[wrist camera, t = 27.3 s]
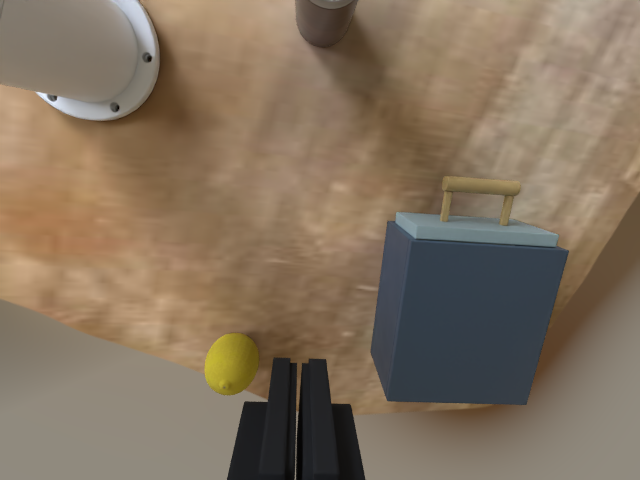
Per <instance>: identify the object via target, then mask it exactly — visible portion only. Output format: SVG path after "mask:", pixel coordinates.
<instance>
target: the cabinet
mask: <svg viewBox="0 0 640 480" xmlns="http://www.w3.org/2000/svg"><path fill="white" fill-rule="evenodd" d="M568 253H569V251H568V250H566V249H563V248H561V247H558V246H556V247H542V246H525V245H515V246H512V245H495V244H479V243H462V242H446V241H430V240H416V239H415V238H414V237H413V236H411V235H410V234H409V233H408V232H406V231H405V230H404V229H403V228H401V227H400V226H399V225H398V224H396V223H395V221H388V222H387V229H386V237H385V245H384V253H383V260H382V268H381V276H380V283H379V291H378V299H377V306H376V314H375V322H374V329H373V337H372V345H371V355H372V358H373V361H374V364H375V367H376V370H377V372H378V375H379V378H380V381H381V384H382V387H383V390H384V393H385V396H386V399H387V401H396V402H435V403H474V404H515V405H526V404H527V400H528V397H529V393H530V390H531V386H532V382H533V379H534V375H535V372H536V368H537V364H538V361H539V357H540V354H541V350H542V346H543V343H544V339H545V336H546V332H547V328H548V325H549V321H550V318H551V314H552V310H553V307H554V303H555V299H556V296H557V292H558V289H559V285H560V281H561V278H562V274H563V271H564V267H565V263H566V260H567V256H568Z"/></svg>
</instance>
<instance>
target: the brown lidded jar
mask: <svg viewBox="0 0 640 480" xmlns="http://www.w3.org/2000/svg"><path fill="white" fill-rule="evenodd" d="M357 3H358V0H295V6H296V22H297V26H298V29H299V31H300V33H301V35H302V36H303V37H304V38H305V39H306V40H307V41H308V42H309V43H311V44H313V45H315V46H320V47H326V46H331V45H333V44H335V43H337V42H338V41H339V40H340V39H341V38H342V37H343V36H344V34H345V32H346V30H347V28H348V26H349V23H350V20H351V18H352V15H353V13H354V10H355V8H356V5H357Z"/></svg>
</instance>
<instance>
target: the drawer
mask: <svg viewBox="0 0 640 480" xmlns="http://www.w3.org/2000/svg"><path fill="white" fill-rule="evenodd" d="M442 189H443V191H445V192H444V197H443V203H442V209H441V215H437V214H422V213H407V212H397V213H396V220H395V223H396V224H398V225H399V226H400V227H401V228H403V229H404V230H405V231H406V232H408V233H409V234H410V235H411V236H413V237H414V238H415V239H416V240H430V241H446V242H462V243H479V244H495V245H512V246H515V245H525V246H542V247H556V245H557V241H558V238H559V235H558V234H555V233H552V232H549V231H546V230H543V229H540V228H537V227H535V226H532V225H529V224H526V223H523V222H520V221H517V220H512V219H509V217H510V212H511V208H512V203H513V199H514V196H516V195H518V194H519V192H520V189H521V185H520V183H519V182H518V181H508V180H495V179H481V178H468V177H455V176H445V177H444V178H443V181H442ZM451 191H452V192H451ZM453 192H466V193H480V194H494V195H505V198H504V202H503V207H502V211H501V216H500V219H497V218H482V217H467V216H452V215H449V211H450V205H451V199H452V194H453Z"/></svg>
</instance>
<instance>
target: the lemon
mask: <svg viewBox="0 0 640 480" xmlns="http://www.w3.org/2000/svg"><path fill="white" fill-rule="evenodd" d="M258 365H259V353H258V349H257V346H256V344H255V343H254V342H253V340H252V339H251V338H249V337H248V336H246V335H244V334H241V333H230V334H226V335H224V336H223V337H221V338H219V339H218V340H217V341H216V342H215V343H214V344H213V345H212V347H211V348H210V350H209V352H208V354H207V357H206V361H205V378H206V380H207V383H208V384H209V386H210V387H211V389H213V390H214V391H215V392H217V393H219V394H222V395H235V394H237V393H240V392H242V391H243V390H244V389H246V388H247V387H248V386H249V384H250V383H251V382H252V381H253V379H254V377H255V375H256V372H257V370H258Z"/></svg>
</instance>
